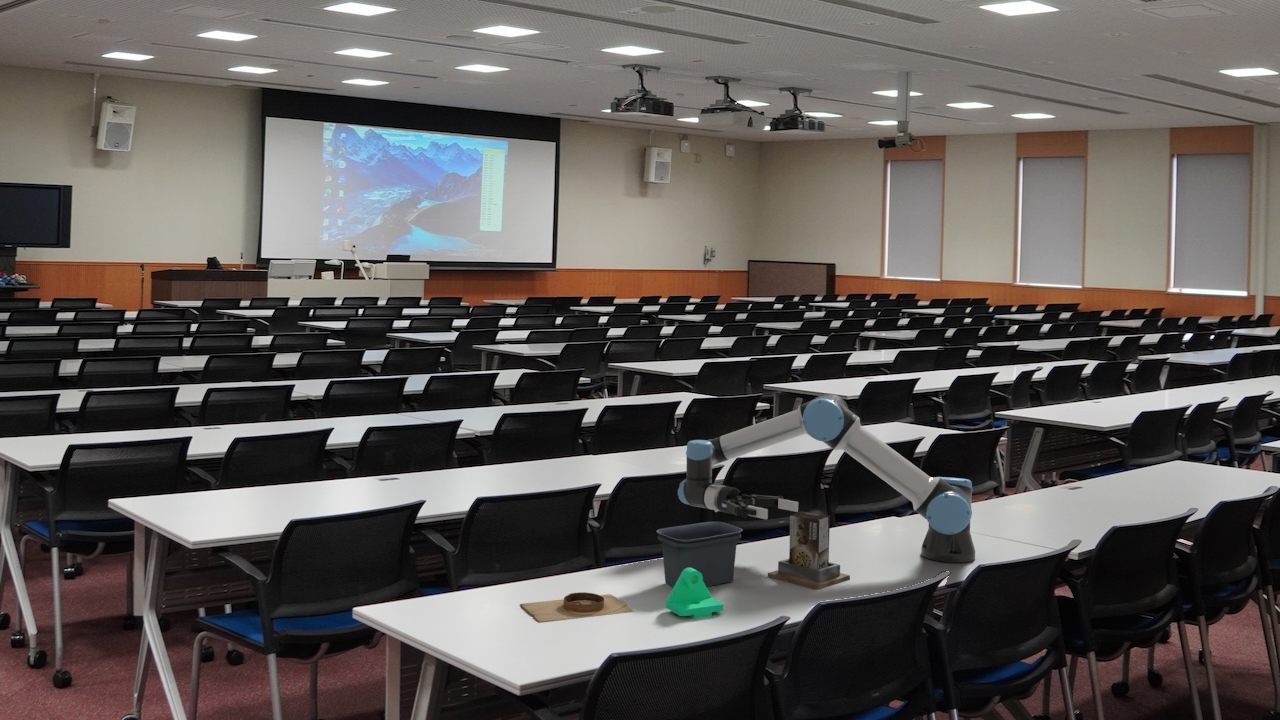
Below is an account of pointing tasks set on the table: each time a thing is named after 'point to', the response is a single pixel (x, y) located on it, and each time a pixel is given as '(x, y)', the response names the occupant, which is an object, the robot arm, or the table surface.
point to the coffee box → (809, 540)
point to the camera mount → (692, 596)
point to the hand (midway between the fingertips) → (782, 510)
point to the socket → (808, 575)
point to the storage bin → (700, 551)
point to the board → (576, 607)
